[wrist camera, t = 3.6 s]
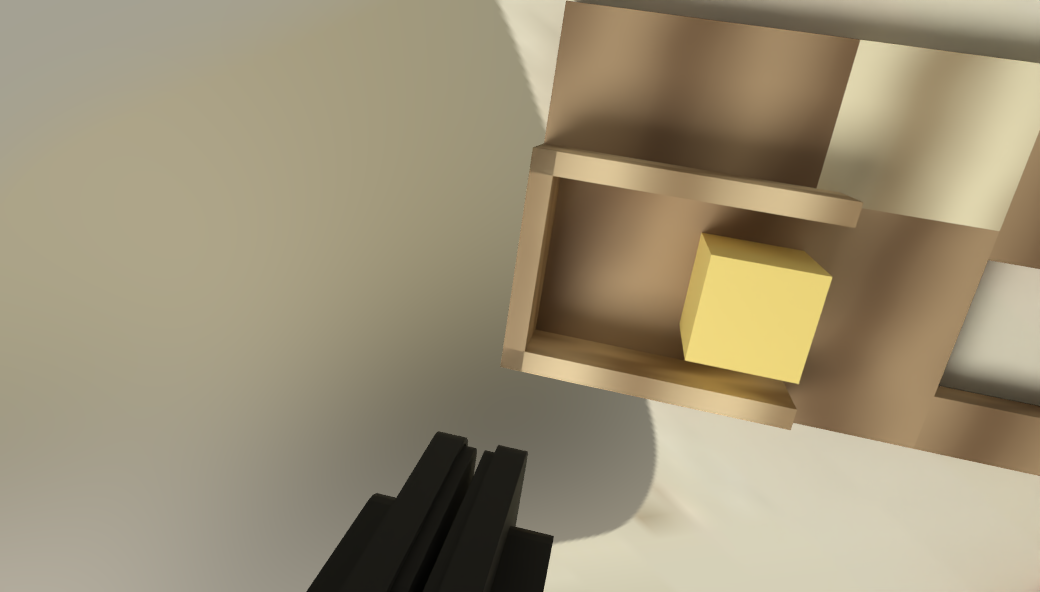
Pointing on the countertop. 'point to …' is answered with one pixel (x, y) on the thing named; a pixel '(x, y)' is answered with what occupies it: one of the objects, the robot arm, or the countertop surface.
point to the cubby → (632, 367)
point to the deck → (837, 249)
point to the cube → (752, 307)
